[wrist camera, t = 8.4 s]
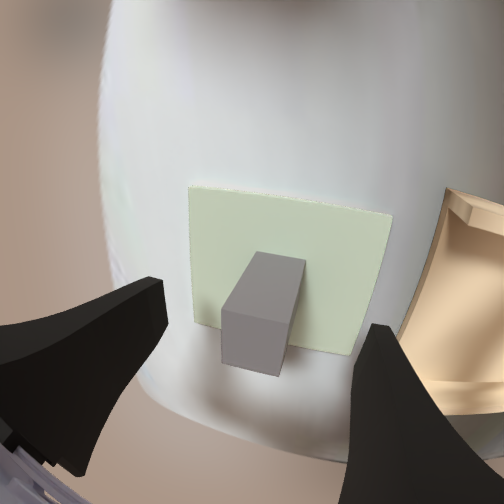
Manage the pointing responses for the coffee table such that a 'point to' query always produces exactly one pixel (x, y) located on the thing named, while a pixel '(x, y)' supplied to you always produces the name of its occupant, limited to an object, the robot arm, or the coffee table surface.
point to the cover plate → (293, 233)
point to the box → (461, 309)
